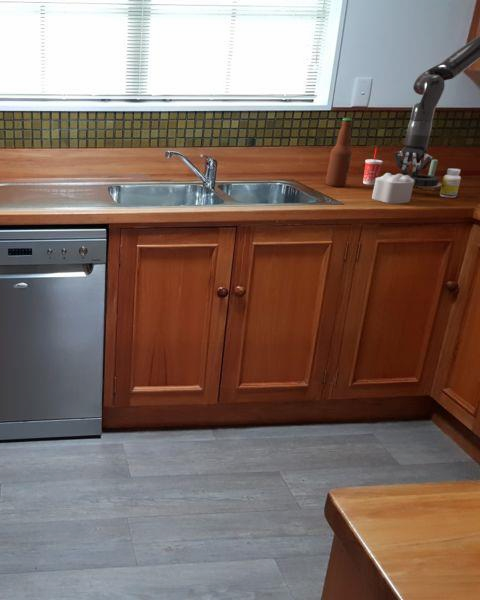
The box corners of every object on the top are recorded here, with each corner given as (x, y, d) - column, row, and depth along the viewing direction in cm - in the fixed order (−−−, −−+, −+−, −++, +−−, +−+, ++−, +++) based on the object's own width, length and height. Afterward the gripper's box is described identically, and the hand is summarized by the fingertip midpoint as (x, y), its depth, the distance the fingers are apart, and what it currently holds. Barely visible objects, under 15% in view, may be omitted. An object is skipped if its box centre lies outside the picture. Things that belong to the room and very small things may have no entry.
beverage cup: (374, 182, 242) (382, 146, 237) (380, 185, 237) (387, 149, 231) (358, 181, 243) (365, 146, 237) (363, 184, 237) (371, 148, 232)
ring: (443, 184, 220) (444, 177, 220) (427, 187, 215) (428, 181, 214) (412, 179, 229) (414, 172, 228) (396, 182, 223) (397, 175, 222)
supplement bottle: (440, 193, 225) (447, 167, 221) (457, 196, 221) (464, 169, 218) (437, 196, 221) (444, 169, 217) (454, 198, 218) (461, 171, 214)
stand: (445, 188, 234) (452, 160, 230) (433, 190, 229) (440, 162, 225) (422, 184, 241) (429, 157, 237) (410, 186, 236) (416, 159, 232)
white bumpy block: (367, 197, 217) (372, 173, 213) (392, 194, 222) (397, 170, 219) (392, 204, 208) (397, 179, 205) (418, 201, 213) (423, 176, 210)
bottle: (349, 186, 234) (362, 119, 224) (334, 187, 231) (347, 119, 221) (335, 182, 240) (347, 117, 230) (321, 183, 237) (332, 117, 228)
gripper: (443, 134, 215) (431, 183, 222) (405, 130, 226) (395, 176, 232) (432, 136, 211) (421, 185, 218) (394, 131, 222) (384, 179, 228)
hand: (407, 180), depth 225 cm, fingers closed on ring, 2 cm apart
